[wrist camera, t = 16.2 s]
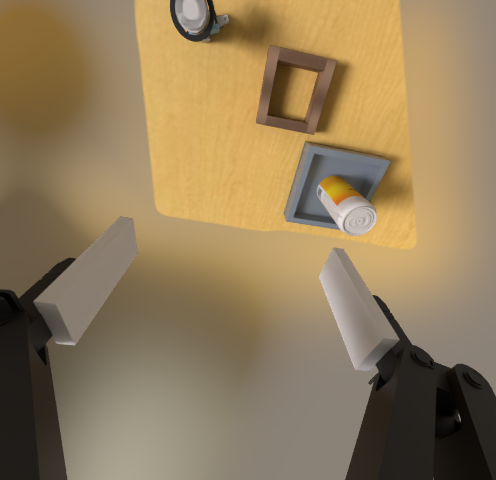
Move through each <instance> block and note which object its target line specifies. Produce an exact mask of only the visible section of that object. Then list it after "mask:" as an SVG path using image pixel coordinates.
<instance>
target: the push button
mask: <svg viewBox="0 0 496 480" xmlns="http://www.w3.org/2000/svg"><path fill="white" fill-rule="evenodd" d="M206 1H207V2H208V6H209V10H208V7H207V3H206ZM170 12H171V17H172V20H173V23H174V25H175V27H176V29H177V30H178V31H179V33H180V34H181V35H182V36H183V37H185V38H186V39H188V40H190V41H195V42H196V41H201V40H203V42H204V43H205V42H208V41H211V40H210V38H209V36H210V35H213V34H216V33H218V32H220V29H219V28H220V27H223V25H225V24H228V23H229V19H228V15H227V14H226V15H223V16H220V15H219V16H216V13H215V10H214V5H213V1H212V0H170ZM224 19H226V21H224ZM183 28H184V29H185V30H187V32H186V31H185V30H184V29H183Z"/></svg>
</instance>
